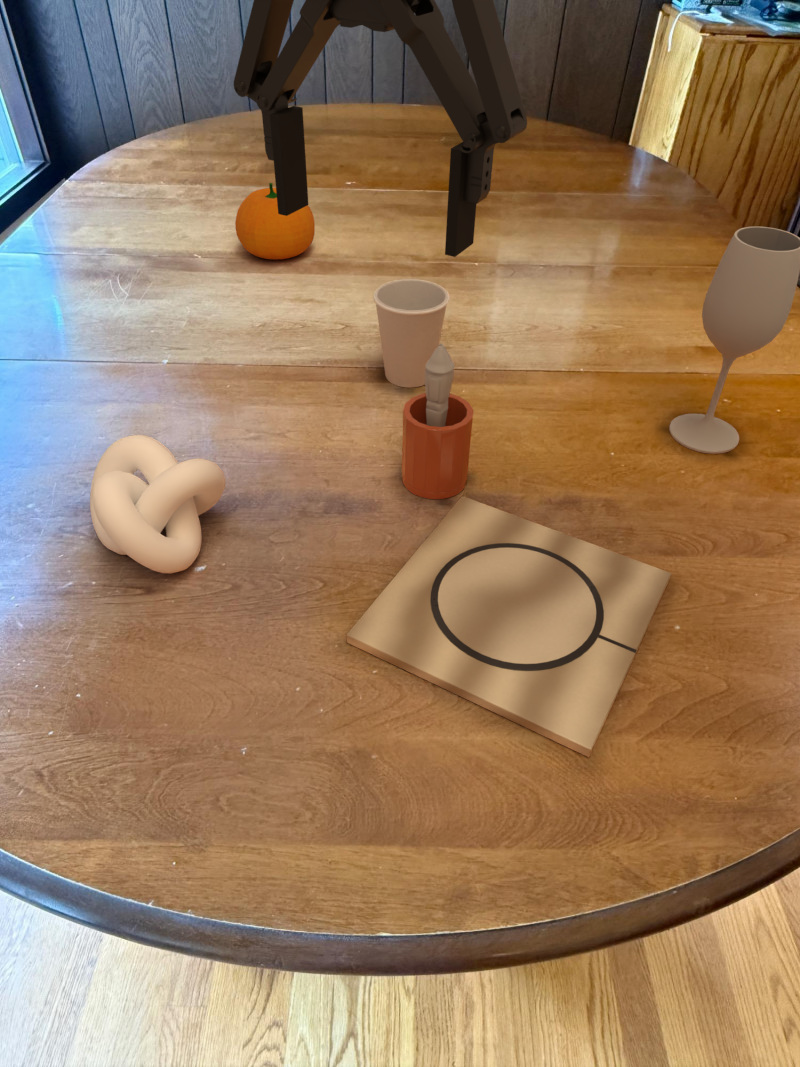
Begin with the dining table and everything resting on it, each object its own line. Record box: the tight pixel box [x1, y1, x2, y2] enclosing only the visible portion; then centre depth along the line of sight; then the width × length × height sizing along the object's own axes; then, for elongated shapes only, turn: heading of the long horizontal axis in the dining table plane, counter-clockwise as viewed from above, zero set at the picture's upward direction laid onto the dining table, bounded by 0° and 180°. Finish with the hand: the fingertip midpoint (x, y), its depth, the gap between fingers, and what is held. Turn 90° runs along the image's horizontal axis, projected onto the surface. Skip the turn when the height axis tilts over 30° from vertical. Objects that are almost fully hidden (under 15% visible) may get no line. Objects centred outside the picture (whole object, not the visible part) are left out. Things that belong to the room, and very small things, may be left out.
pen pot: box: [401, 392, 474, 500], centre depth 74 cm, size 6×6×8 cm
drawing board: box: [346, 495, 672, 758], centre depth 63 cm, size 20×20×1 cm
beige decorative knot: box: [89, 434, 226, 574], centre depth 66 cm, size 11×12×9 cm
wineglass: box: [668, 226, 800, 455], centre depth 76 cm, size 8×8×21 cm
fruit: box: [234, 182, 316, 261], centre depth 114 cm, size 12×12×10 cm
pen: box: [424, 342, 456, 427], centre depth 71 cm, size 2×3×14 cm
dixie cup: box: [372, 278, 451, 388], centre depth 88 cm, size 8×8×10 cm
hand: (372, 229), depth 54 cm, fingers open, 13 cm apart
